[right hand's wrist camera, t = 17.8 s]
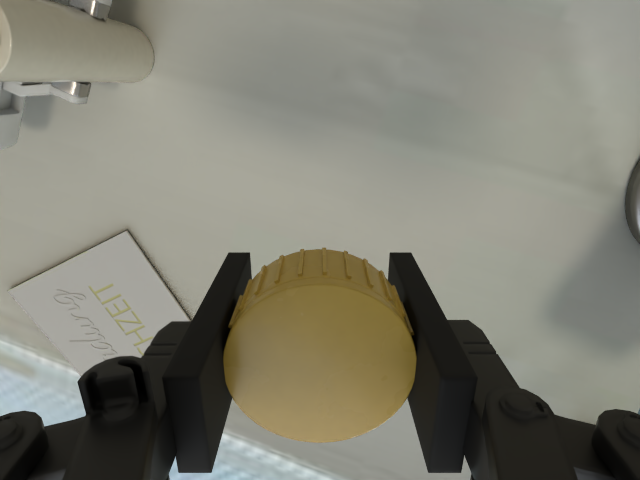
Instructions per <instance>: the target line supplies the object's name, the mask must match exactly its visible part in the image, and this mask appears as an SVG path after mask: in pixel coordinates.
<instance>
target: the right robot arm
mask: <svg viewBox="0 0 640 480" xmlns="http://www.w3.org/2000/svg"><path fill="white" fill-rule="evenodd" d="M625 211H626V218H627V222H628V226H629V228H630V230H631V232H632V234H633V236H634V237H635V239H636V240H637V241H638V242H639V243H640V160H639V162H638V164H637V165H636V167H635V169H634V171H633V174H632V176H631V179H630V182H629V185H628V189H627V194H626V202H625ZM249 279H251V280H252V276H251V262H250V253H228V255H227V257H226V259H225V260H224V262H223V264H222V266H221V268H220V270H219V272H218V274H217V275H216V277H215V279H214V281H213V283H212V285H211V287H210V288H209V290H208V292H207V294H206V296H205V298H204V300H203V302H202V303H201V305H200V307H199V309H198V311H197V313H196V315H195V316H194V318H193V320H192V321H171V322H170V323H169V324H167V325H166V326H165V327H163V328H162V329H161V330H159V331H158V332H157V334H156V335H155V337H154V338H153V340H152V341H151V343H150V346H148V348H147V349H146V351H145V352H144V356H142V357H141V358H139V357H135V356H119V357H115V358H111V359H107V360H105V361H103V362H100V363H98V364H96V365H94V366H93V367H91V368H90V369H89V370H87V371H86V372H85V373H84V374H83V375H82V376H81V378H80V379H79V381H78V386H79V389H80V393H81V397H82V400H83V404H84V408H85V411H86V416H85V417H81V418H78V419H75V420H71V421H66V422H62V423H58V424H54V425H49V426H45V427H44V424H43V421H42V418H41V417H40V416H39V415H38V414H36V413H35V412H29V411H20V412H13V413H9V414H6V415H3V416H0V480H170V479H169V472H170V469H171V467H172V464H173V461H174V459H175V456H176V460H177V466H178V472H179V473H212V469H213V465H214V462H215V458H216V455H217V451H218V447H219V444H220V440H221V437H222V433H223V429H224V426H225V422H226V419H227V415H228V411H229V408H230V404H231V401H232V396H231V394H230V392H229V390H228V387H227V385H226V382H225V373H224V364H223V353H224V348H225V344H226V340H227V337H228V335H229V332H230V329H231V328H228V326H229V323H230V320H231V318H232V315H233V312H234V310H235V307H236V304H237V302H238V299H239V296H240V295H242V296H243V294H244V292H245V289H246V286H247V283H248V281H249ZM388 281H389V283H390V284H391V286H393V285H394V286H395V287H396V290H397V293H398V295H399V298H400V301H401V302H402V303H403V306H404V308H405V311H406V314H407V316H408V319H409V322H410V324H411V327H412V330H413V332H414V335H411V336H412V339H413V342H414V345H415V349H416V355H417V360H416V370H415V379H414V383H413V386H412V389H411V391H410V393H409V395H408V397H407V398H408V401H409V405H410V409H411V412H412V416H413V419H414V423H415V427H416V430H417V434H418V437H419V441H420V445H421V448H422V452H423V455H424V459H425V463H426V466H427V470H428V473H461V470H462V465H463V459H464V455H465V457H466V460H467V463H468V465H469V468H470V470H471V479H470V480H640V409H639V412H638V414H636V413H634V412H631V411H625V410H618V409H613V410H607V411H604V412H603V413H602V414H601V415H600V416H599V417H598V420H597V423H596V425H593V424H589V423H585V422H581V421H576V420H572V419H568V418H564V417H561V416H557V415H554V413H553V412H552V410H551V408H550V407H549V405H548V404H547V403H546V402H544V401H543V400H542V399H541V398H540V397H539V396H537V395H535V394H533V393H531V392H529V391H527V390H525V389H521V388H519V386H518V385H517V383H516V381H515V380H514V378H513V377H512V375H511V374H510V372H509V371H508V369H507V368H506V366H505V365H504V363H503V362H502V360H501V359H500V357H499V356H498V354H496V351H495V349H494V348H493V346H492V345H491V344H490V342H489V340H488V339H487V337H486V336H485V334H484V333H483V331H482V330H481V329H480V328H478V327H477V326H476V325H474V324H473V323H472V322H470V321H469V320H447V319H446V317H445V315H444V313H443V311H442V309H441V308H440V306H439V304H438V302H437V300H436V298H435V296H434V295H433V293H432V291H431V289H430V287H429V285H428V283H427V281H426V280H425V278H424V276H423V274H422V272H421V270H420V268H419V267H418V265H417V263H416V261H415V259H414V257H413V255H412V254H411V253H390V258H389V273H388Z"/></svg>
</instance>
